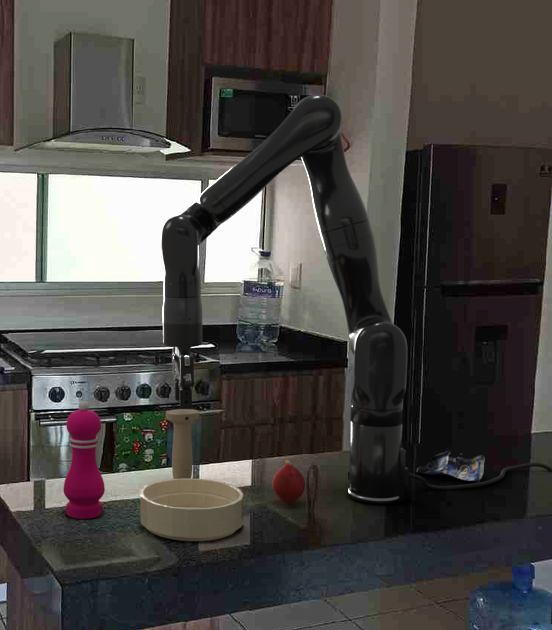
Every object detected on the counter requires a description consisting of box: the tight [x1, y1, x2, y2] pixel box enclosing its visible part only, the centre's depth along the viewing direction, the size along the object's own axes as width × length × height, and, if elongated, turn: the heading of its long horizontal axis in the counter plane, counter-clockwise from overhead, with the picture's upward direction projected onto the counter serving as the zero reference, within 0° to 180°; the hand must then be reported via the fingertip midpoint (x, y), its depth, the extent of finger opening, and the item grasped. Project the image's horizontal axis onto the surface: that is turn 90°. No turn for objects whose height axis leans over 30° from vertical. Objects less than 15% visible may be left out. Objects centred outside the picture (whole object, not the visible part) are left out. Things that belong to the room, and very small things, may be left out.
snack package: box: [416, 450, 486, 483], centre depth 168 cm, size 12×6×12 cm
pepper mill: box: [62, 400, 106, 520], centre depth 144 cm, size 7×7×20 cm
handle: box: [165, 408, 200, 479], centre depth 159 cm, size 5×6×15 cm
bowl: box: [139, 477, 245, 542], centre depth 139 cm, size 17×17×6 cm
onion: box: [271, 460, 306, 505], centre depth 150 cm, size 6×6×8 cm
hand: (183, 404), depth 159 cm, fingers open, 8 cm apart
